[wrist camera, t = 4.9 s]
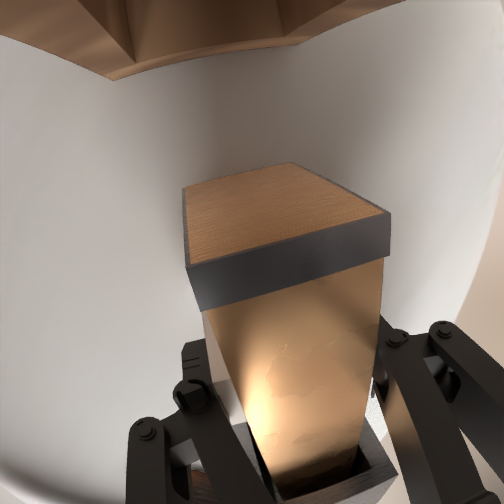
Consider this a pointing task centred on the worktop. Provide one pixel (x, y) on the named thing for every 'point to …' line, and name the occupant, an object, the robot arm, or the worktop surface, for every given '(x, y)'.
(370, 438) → the sleeve
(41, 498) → the worktop surface
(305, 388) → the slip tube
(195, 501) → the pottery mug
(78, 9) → the brown wooden box
